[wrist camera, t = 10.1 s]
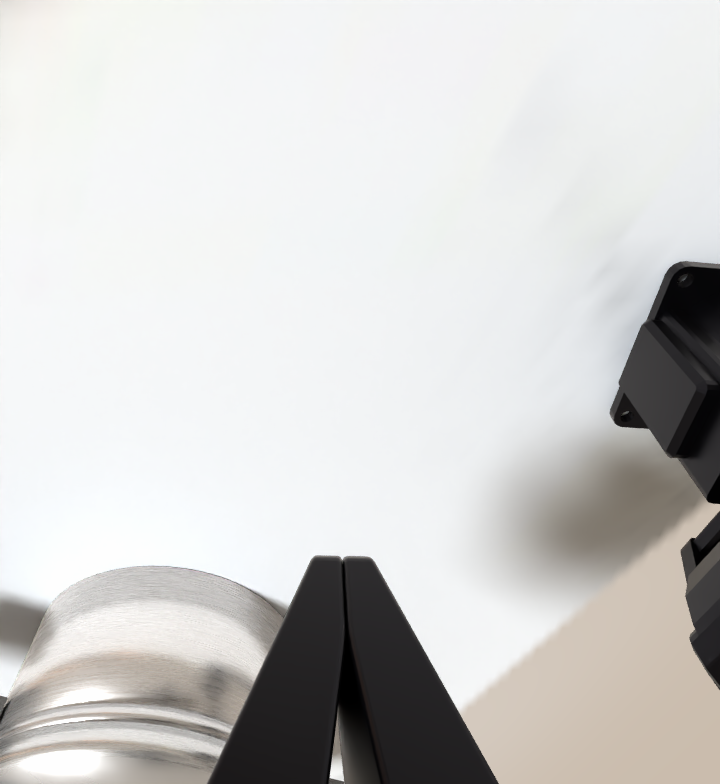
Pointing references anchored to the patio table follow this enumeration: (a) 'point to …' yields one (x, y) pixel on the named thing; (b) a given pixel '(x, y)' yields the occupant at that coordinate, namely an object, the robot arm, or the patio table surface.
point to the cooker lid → (108, 755)
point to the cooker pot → (144, 653)
